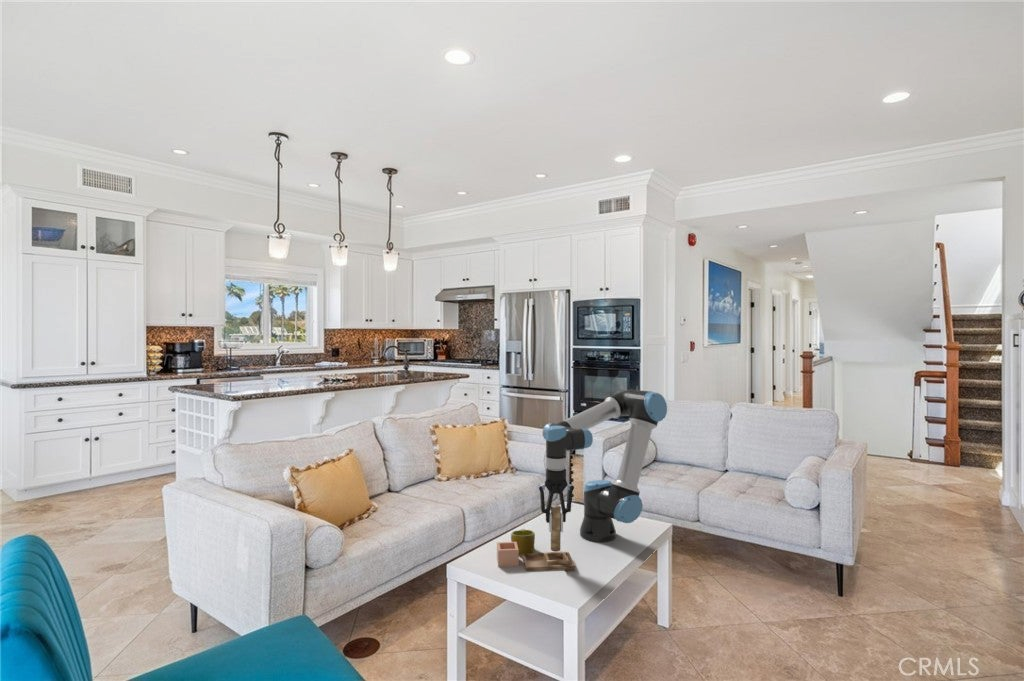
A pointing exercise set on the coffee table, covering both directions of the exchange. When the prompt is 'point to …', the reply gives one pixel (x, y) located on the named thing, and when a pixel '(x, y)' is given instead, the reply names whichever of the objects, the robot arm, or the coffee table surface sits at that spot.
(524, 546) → the mug
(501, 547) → the pink hollow box
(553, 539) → the dowel
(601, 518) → the robot arm
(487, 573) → the coffee table surface
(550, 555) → the tray
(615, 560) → the coffee table surface
